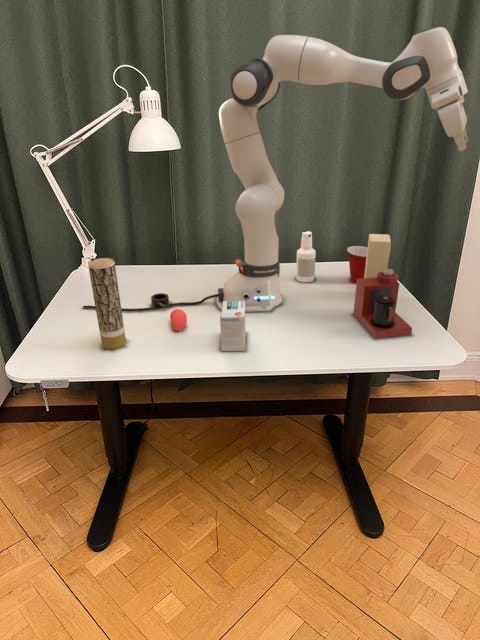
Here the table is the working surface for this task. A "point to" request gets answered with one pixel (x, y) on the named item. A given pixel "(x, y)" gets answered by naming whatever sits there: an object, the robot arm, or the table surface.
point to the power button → (388, 272)
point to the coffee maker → (365, 292)
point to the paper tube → (107, 302)
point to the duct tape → (160, 300)
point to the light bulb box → (232, 326)
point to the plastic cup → (357, 262)
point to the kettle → (384, 311)
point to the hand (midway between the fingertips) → (463, 146)
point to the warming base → (394, 330)
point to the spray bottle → (305, 259)
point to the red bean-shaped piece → (178, 319)
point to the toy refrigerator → (377, 254)
